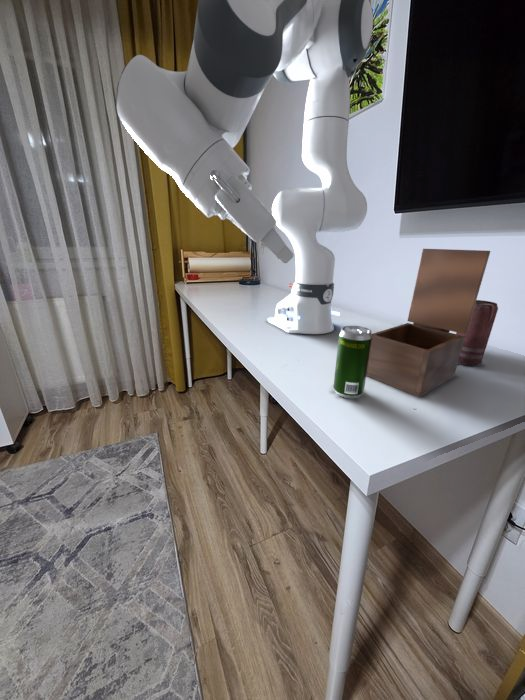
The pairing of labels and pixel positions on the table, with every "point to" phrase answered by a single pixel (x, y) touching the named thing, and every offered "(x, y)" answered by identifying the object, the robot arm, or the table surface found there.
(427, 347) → the chest
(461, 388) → the table surface
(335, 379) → the beer can
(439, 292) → the lid
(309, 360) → the table surface
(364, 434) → the table surface
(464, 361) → the can
